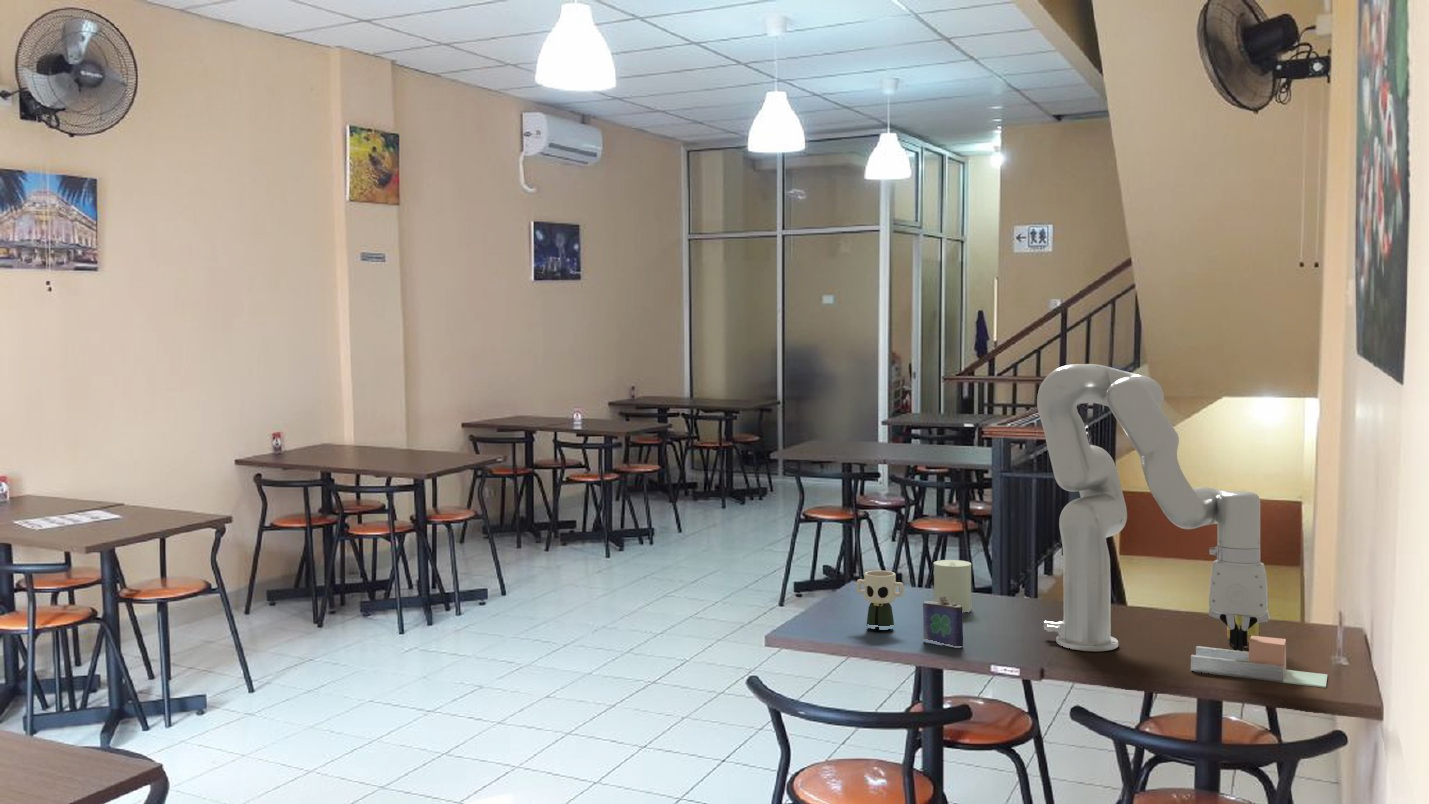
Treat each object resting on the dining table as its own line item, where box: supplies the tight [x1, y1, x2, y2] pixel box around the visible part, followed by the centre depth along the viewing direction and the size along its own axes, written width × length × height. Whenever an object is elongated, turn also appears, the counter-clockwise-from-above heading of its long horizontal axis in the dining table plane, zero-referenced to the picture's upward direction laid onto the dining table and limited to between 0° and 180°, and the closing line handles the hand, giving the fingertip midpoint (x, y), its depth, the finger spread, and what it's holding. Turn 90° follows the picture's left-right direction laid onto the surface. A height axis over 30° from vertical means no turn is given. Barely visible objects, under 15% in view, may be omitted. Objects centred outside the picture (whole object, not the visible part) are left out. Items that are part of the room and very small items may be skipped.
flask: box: [922, 595, 964, 647], centre depth 236 cm, size 9×3×11 cm, turn 50°
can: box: [933, 559, 973, 611], centre depth 269 cm, size 9×9×12 cm
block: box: [1248, 635, 1287, 675], centre depth 210 cm, size 6×5×6 cm
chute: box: [1190, 645, 1286, 684], centre depth 213 cm, size 16×9×3 cm, turn 59°
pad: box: [1283, 669, 1328, 689], centre depth 207 cm, size 7×9×1 cm
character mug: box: [856, 570, 904, 626], centre depth 250 cm, size 11×7×13 cm, turn 65°
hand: (1238, 649), depth 213 cm, fingers closed
